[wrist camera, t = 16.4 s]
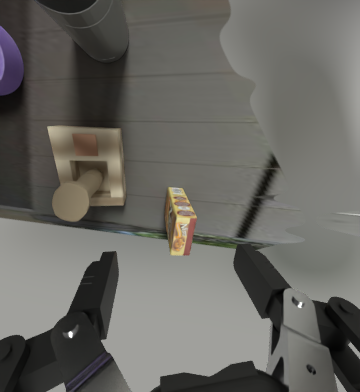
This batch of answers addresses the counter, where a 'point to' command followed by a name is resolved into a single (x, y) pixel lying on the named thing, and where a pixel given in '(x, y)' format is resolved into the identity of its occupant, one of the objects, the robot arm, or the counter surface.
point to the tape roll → (9, 64)
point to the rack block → (91, 159)
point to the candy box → (179, 221)
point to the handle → (76, 195)
